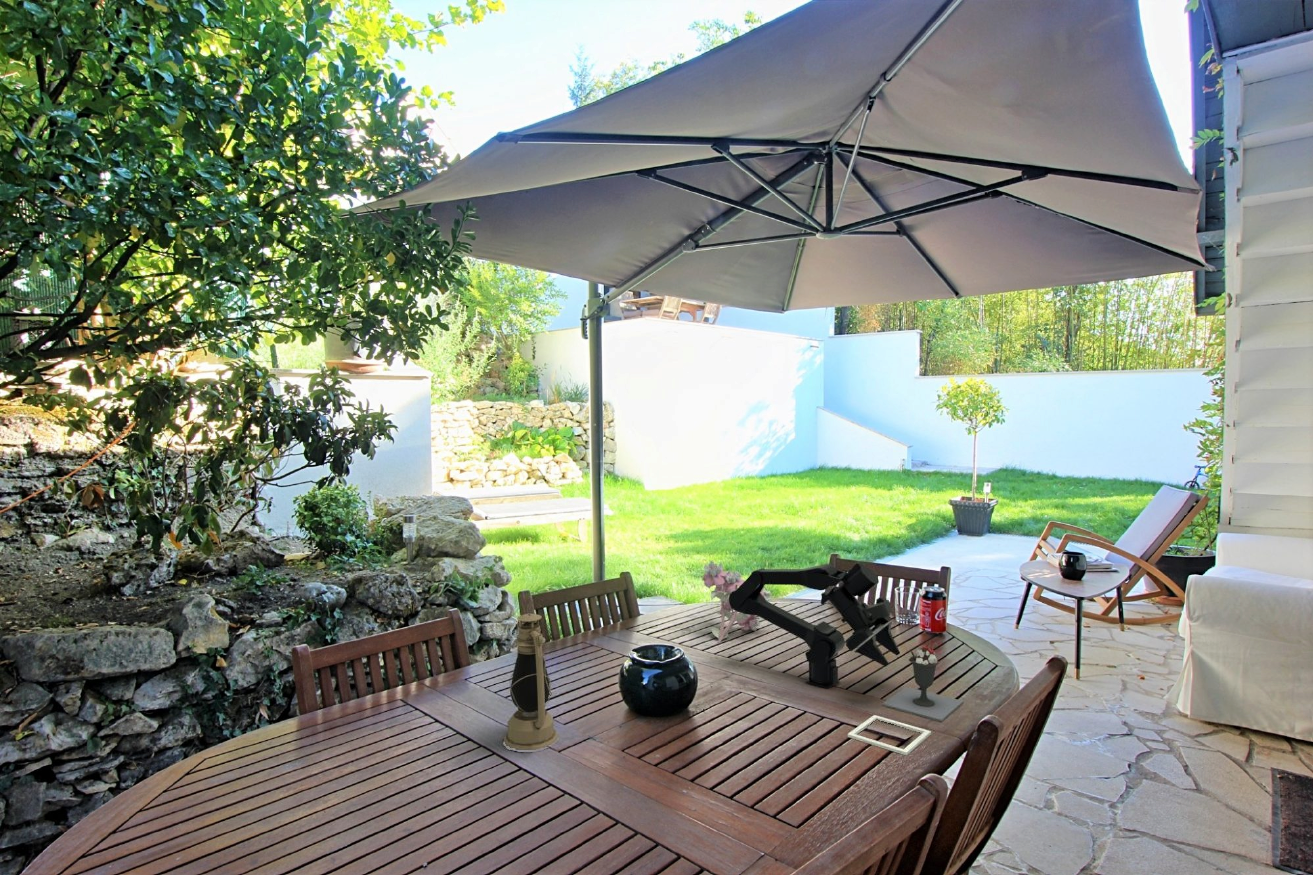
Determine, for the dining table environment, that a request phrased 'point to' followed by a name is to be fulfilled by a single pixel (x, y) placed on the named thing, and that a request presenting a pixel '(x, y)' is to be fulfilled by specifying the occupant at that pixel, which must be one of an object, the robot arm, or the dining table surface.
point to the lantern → (530, 690)
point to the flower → (727, 585)
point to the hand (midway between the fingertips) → (893, 659)
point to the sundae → (924, 672)
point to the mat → (935, 712)
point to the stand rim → (902, 751)
